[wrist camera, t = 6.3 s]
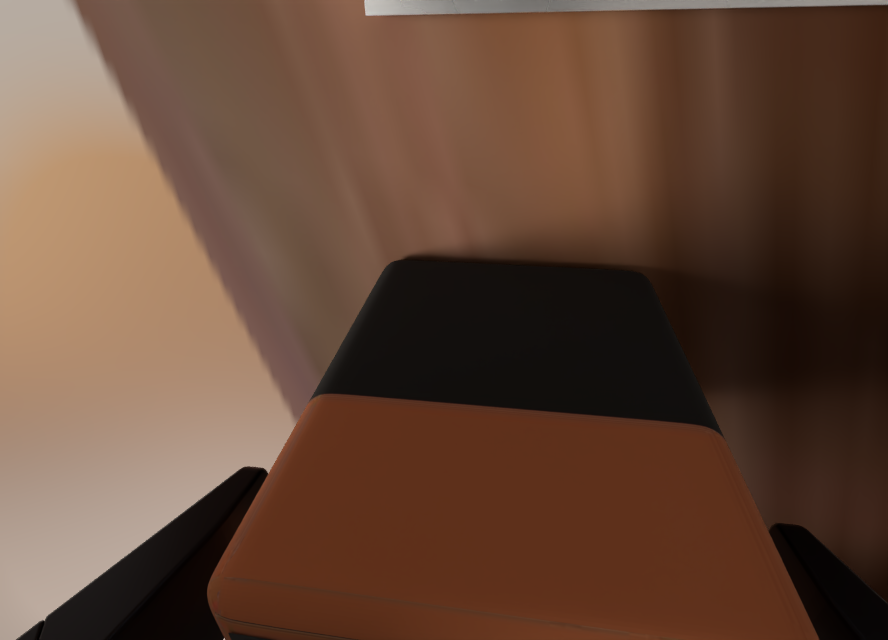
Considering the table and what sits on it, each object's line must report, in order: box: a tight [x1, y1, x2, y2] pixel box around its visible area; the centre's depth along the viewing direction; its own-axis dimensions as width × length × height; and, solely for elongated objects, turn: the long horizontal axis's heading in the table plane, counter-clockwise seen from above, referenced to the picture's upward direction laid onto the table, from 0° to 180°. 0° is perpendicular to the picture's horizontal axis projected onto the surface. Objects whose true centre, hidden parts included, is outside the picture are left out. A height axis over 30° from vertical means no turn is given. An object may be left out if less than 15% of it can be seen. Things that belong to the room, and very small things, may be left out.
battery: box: [207, 260, 819, 640], centre depth 9 cm, size 4×7×10 cm, turn 91°
